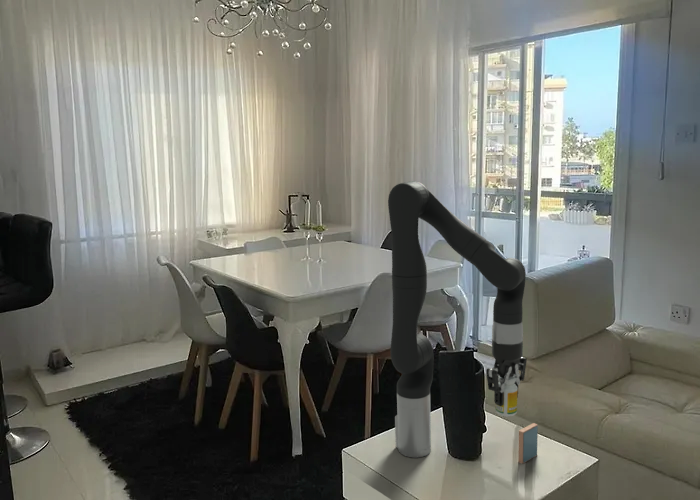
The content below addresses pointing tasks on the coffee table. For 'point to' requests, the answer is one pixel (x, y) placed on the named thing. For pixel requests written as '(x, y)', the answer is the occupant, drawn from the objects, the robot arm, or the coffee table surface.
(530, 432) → the tile
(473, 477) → the coffee table surface
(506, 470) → the coffee table surface
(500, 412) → the supplement bottle
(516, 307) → the robot arm
